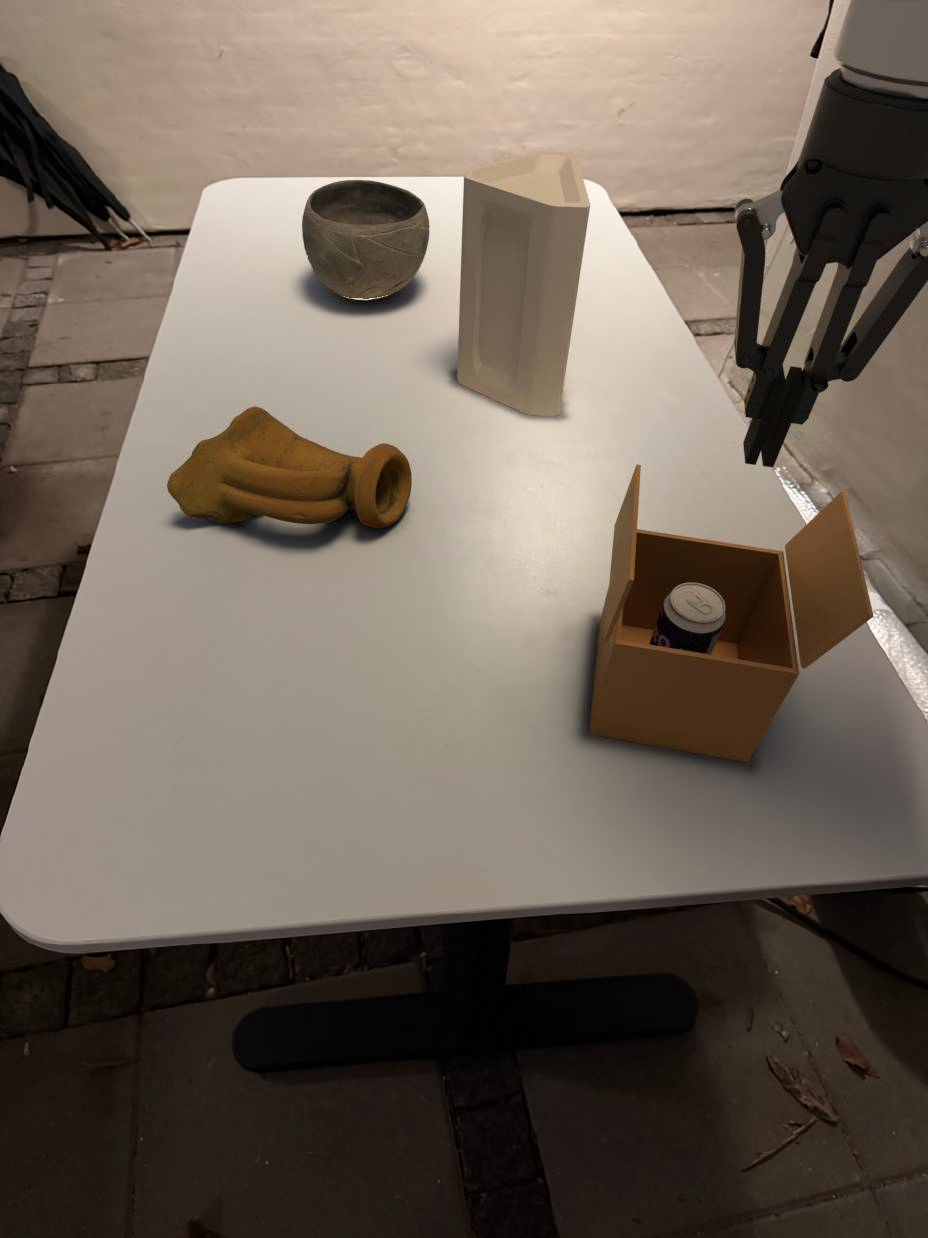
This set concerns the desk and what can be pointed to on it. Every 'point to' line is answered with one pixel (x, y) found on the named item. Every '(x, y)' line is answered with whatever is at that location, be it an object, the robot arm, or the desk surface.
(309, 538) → the desk surface
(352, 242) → the bowl
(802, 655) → the flap
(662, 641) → the beverage can
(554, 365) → the tall recessed triangular prism
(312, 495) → the brown looped sculpture
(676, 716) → the carton
